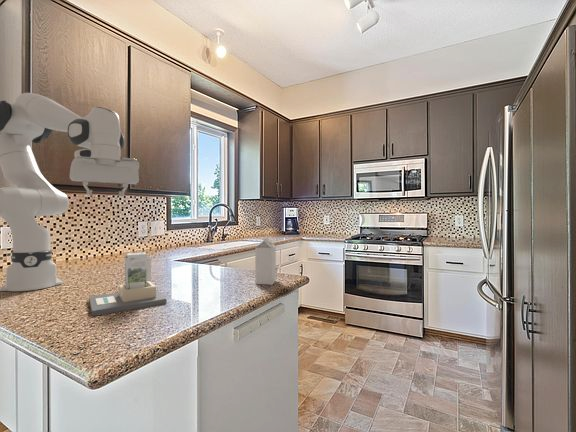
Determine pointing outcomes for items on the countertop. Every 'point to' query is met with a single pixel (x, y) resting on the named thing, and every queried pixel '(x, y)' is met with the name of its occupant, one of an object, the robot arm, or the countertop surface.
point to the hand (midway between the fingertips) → (106, 195)
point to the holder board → (126, 299)
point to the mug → (149, 269)
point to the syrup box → (135, 270)
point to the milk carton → (265, 262)
